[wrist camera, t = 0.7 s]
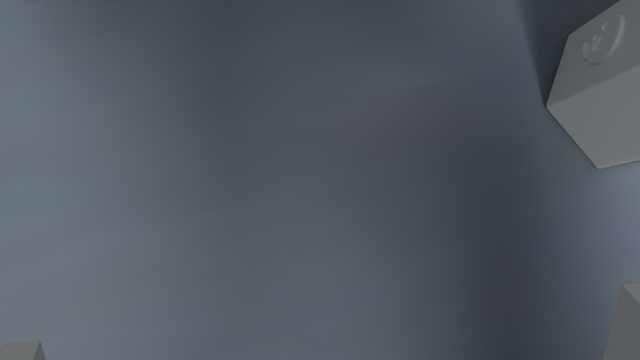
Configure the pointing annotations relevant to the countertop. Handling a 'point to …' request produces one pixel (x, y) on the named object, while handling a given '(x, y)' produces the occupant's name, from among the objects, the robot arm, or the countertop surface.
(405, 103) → the countertop surface
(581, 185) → the countertop surface
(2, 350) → the robot arm
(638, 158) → the jar
